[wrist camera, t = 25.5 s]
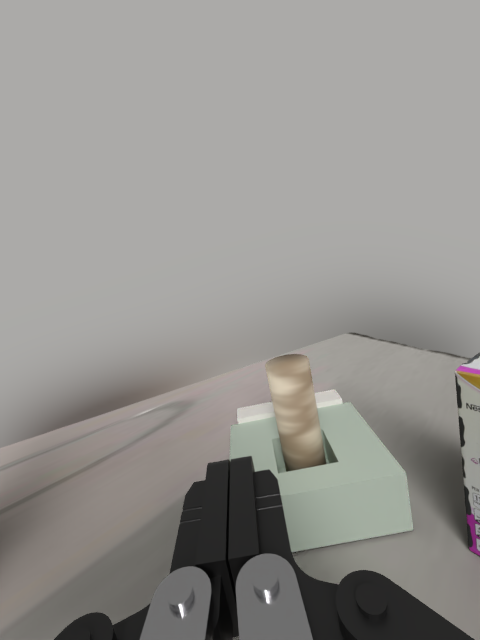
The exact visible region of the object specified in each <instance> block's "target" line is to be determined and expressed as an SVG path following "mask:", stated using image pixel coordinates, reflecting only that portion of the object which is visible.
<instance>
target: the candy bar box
mask: <svg viewBox="0 0 480 640" xmlns="http://www.w3.org/2000/svg"><path fill="white" fill-rule="evenodd" d="M455 377H456V391H457V404H458V415H459V429H460V440H461V454H462V465H463V479H464V491H465V504H466V515H467V530H468V542H469V549H470V550H471V551H472V552H474V553H476V554H477V555H479V556H480V352H479V353H478V354H477V355H476V356H474V357H473V358H471V359H470V360H469V361H468V363H464V364H462V365H461V366H460V367H459V368H458V369H457V370H456V371H455Z"/></svg>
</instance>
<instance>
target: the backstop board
mask: <svg viewBox="0 0 480 640" xmlns="http://www.w3.org/2000/svg"><path fill="white" fill-rule="evenodd" d="M315 399H316V405H317V408H321V407H326V406H331V405H336V404H342V398H341V397H340V396H339V394H338V393H337V392H336V390H335V389H333V390H328V391H323V392H318V393H315ZM270 417H275V412H274V407H273V402H268V403H263V404H258V405H253V406H248V407H243V408H238V409H237V420H238V424H240V423H245V422H250V421H255V420H260V419H265V418H270Z"/></svg>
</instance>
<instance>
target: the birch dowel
mask: <svg viewBox="0 0 480 640" xmlns="http://www.w3.org/2000/svg"><path fill="white" fill-rule="evenodd" d="M265 367H266V372H267V377H268V382H269V387H270V392H271V397H272V402H273V407H274V412H275V417H276V423H277V428H278V433H279V438H280V443H281V448H282V453H283V458H284V463H285V468H286V472H288V471H294V470H299V469H304V468H309V467H315V466H320V465H325V464H326V458H325V452H324V446H323V440H322V434H321V428H320V423H319V417H318V411H317V405H316V399H315V393H314V387H313V382H312V376H311V370H310V364H309V359H308V357H307V356H304V355H299V354H291V355H284V356H279V357H276V358H273V359H271V360H269V361H268V362H267V363H266V364H265Z"/></svg>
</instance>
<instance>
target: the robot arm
mask: <svg viewBox="0 0 480 640" xmlns="http://www.w3.org/2000/svg"><path fill="white" fill-rule="evenodd" d="M238 636H239V640H474V639H473V638H471V637H470V636H469V635H467V634H466V633H464V632H463V631H462V630H460V629H459V628H457V627H456V626H454V625H453V624H452V623H450V622H449V621H447V620H446V619H445V618H443V617H442V616H440V615H439V614H438V613H436V612H435V611H433V610H432V609H430V608H429V607H428V606H426V605H425V604H423V603H422V602H421V601H419V600H418V599H416V598H415V597H414V596H412V595H411V594H409V593H408V592H407V591H405V590H404V589H402V588H401V587H399V586H398V585H397V584H395V583H394V582H392V581H391V580H390V579H388V578H386V577H385V576H383V575H381V574H379V573H377V572H373V571H368V570H359V571H354V572H352V573H350V574H348V575H347V576H345V577H344V578H343V579H342V580H341V582H340V584H339V585H338V584H333V583H328V582H323V581H319V580H316V579H314V578H312V577H310V576H308V575H307V574H305V573H304V572H303V571H302V570H301V569H300V568H299V567H298V565H297V564H296V562H295V561H294V558H293V556H292V552H291V547H290V542H289V537H288V532H287V526H286V521H285V516H284V511H283V505H282V500H281V495H280V489H279V484H278V479H277V478H276V477H275V476H274V474H273V473H272V472H271V471H270V470H269V469H268V470H262V471H256V472H255V469H254V464H253V459H252V456H247V457H241V458H235V459H231V460H224V461H219V462H213V463H208V465H207V473H206V480H205V481H199V482H194V483H193V485H192V486H191V488H190V489H189V491H188V492H187V494H186V495H185V500H184V505H183V512H182V515H181V520H180V525H179V530H178V535H177V540H176V545H175V550H174V555H173V560H172V565H171V570H170V574H169V575H168V576H167V577H166V578H165V579H164V580H163V581H162V582H161V583H160V584H159V586H158V587H157V589H156V591H155V593H154V595H153V598H152V601H151V603H150V604H149V605H148V606H147V607H145V608H144V609H142V610H141V611H139V612H137V613H135V614H133V615H132V616H130V617H128V618H126V619H124V620H122V621H120V622H118V623H116V624H114V625H112V623H111V620H110V619H109V617H108V616H106V615H105V614H103V613H97V612H96V613H90V614H86V615H84V616H82V617H80V618H78V619H76V620H75V621H73V622H72V623H71V624H69V625H68V626H67V627H66V628H65V629H64V630H63V631H62V632H61V633H60V634H59V635H58V636H57V637H56V638H55V639H54V640H233V637H238Z"/></svg>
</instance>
